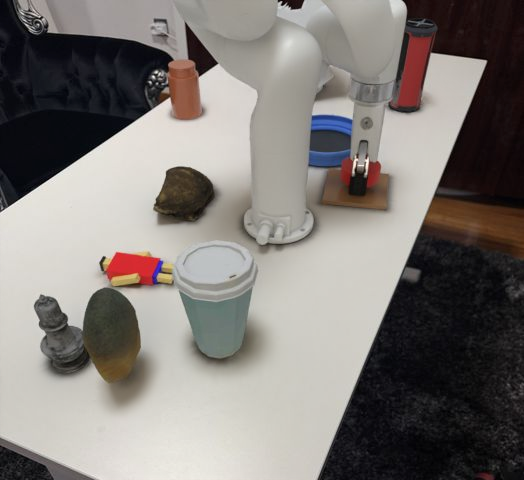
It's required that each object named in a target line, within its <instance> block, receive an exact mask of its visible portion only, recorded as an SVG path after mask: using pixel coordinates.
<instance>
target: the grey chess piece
mask: <svg viewBox="0 0 524 480" xmlns="http://www.w3.org/2000/svg"><path fill="white" fill-rule="evenodd" d="M33 309H34V312H35V314H36V316H37V318H38V320H39V321H38V327H39V328H40V330H41V331H44V336H43V337H42V339H41V341H40V343H39V344H40V345H39V348H40V351H41V353H42V355H44V356H46V357H47V358H49V359H50V365H51V367H52V369H53V370H54V371H56V372H57V373H61V374H70V373H71V374H72V373H74V372H77V371H79V370H81V369H83V368H84V367H85V366H86V365H87V364H88V363H89V361H90V359H91V357H90V355H89V353H88V351H87V350H86V348H85V346H84V343H83V337H82V335H83V329H81V328H80V327H78V326H75V325H69V323H68V322H69V316H68V315H67V313H65V312H63V311H62V308H61V306H60V304H59V302H58V300H57V299H56V298H55V297H52V296H50V295H44V294H42V293H40V295H39V296H38V299H36V300H35V302H34V304H33Z"/></svg>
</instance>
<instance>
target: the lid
mask: <svg viewBox="0 0 524 480" xmlns="http://www.w3.org/2000/svg"><path fill="white" fill-rule="evenodd" d="M358 157H359V156H356V158H358ZM367 157H368V156H366V157H365V159H367ZM353 163H354V160H353V161H352V160H351V159H350V157H348V158H346V159H345V160H343V162H342V164H341V165H340V170H341V173H340V178H341V180H342V182H344V183H345V184H347V185H349V184H350V176H351V174H352V170H353ZM357 165H358V162H356V167H357ZM365 166H366V163H365V165H364V167H365ZM381 171H382V164H381V162H380V161H379V160H377V161H376V162H375V163H373V162H370V159H369V165H368V172H367V175H368V181H367V187H371V186H373V185H375V184H376V183H377V182H378V181H379V177H380V173H381Z"/></svg>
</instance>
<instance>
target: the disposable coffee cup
mask: <svg viewBox="0 0 524 480" xmlns="http://www.w3.org/2000/svg"><path fill="white" fill-rule="evenodd" d="M173 264H174V265H173V268H172V273H171V275H172V278H173V283H174V286H175V288H176V290H178V293H179V296H180V298H181V302H182V305H183V308H184V311H185V314H186V317H187V319H188V322H189V326H190V329H191V331H192V334H193V336H194V337H193V338H194V340H195V343H196V345H197V349H198V350H200V352H201V353H202V354H204V355H205V356H207V357H208V358H213V359H225V358H229V357H231V356H233V355H234V354H235V353H237V352H238V351H240V348H241V347H242V345H243V341H244V337H245V333H246V326H247V321H248V316H249V310H250V305H251V299H252V294H253V289H254V286H255V284H256V281H257V278H258V275H259V269H258V268H259V267H258V264H257V262H256V260H255V259H254V257H253V255H252V253H251V252H250V251H249V249H248V248H247V247H245V246H243V245H240V244H239V243H236V242H233V241H228V240H227V241H226V240H215V239H213V240H209V241H208V240H207V241H204V242H198V243H195V244H193V245H191V246H190V247H189V248H186V249H185V250H184V251H182V252H180V254H178V256H177V257H176V258H175V262H174V263H173Z"/></svg>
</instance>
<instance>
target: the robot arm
mask: <svg viewBox="0 0 524 480" xmlns="http://www.w3.org/2000/svg"><path fill="white" fill-rule="evenodd" d="M172 1H173V4H174V6H175V9H176V11H177V12H178V14H179V15H180V17H181V19H182V20H183V21H184V22H185V24H186V25H187V26H188V28H189V29H190V30H191V31H192V33H193V34H194V35H195V36H196V37H197V39H198V40H199V42H200V43H201V44H202V46H204V48H205V49H206V50H207V51H208V54H210V55H211V56H212V58H213V59H214V60H215V61H216V63H218V65H219V66H220V67H221V68H222V69H223V70H224V71H225V72H226V73H227V74H228V75H230V76H231V77H233V78H235V79H236V80H238V81H239V82H241V83H243V84H245V85H247V86H249V87H250V88H251V89H253V90H254V91H256V94H257V99H256V103H255V106H254V108H253V110H252V112H251V116H250V121H249V152H250V155H249V156H250V185H251V186H250V187H251V188H250V189H251V191H250V192H251V207H249V208H248V209H247V210H246V211H245V213H244V215H243V227H244V229H245V231H246V233H248V234H249V235H250V236H251V237H252V238H254V239H255V240H256V241H255V242H257V244H259V245H261V246H263V245H266V244H274V245H276V244H277V245H279V244H283V245H284V244H290V243H291V244H292V243H294V242H297V241H299V240H302V239H303V238H305V237H306V236H308V235H309V234H310V233H311V231H312V229H313V228H314V216H313V215H314V214H313V213H312V212H311V210H310V209H309V208H308V207H307V193H308V177H309V165H310V164H309V148H310V133H311V120H312V115H313V111H314V105H315V99H316V95H317V94H316V91H317V88H318V84H319V80H320V76H321V71H322V61H324V62H326V63H328V64H330V65H329V66H332V67H335V68H338V69H341V70H343V71H345V72H347V73H349V74H350V75H349V83H348V89H347V90H348V93H347V97H348V99H349V101H351V102H353V111H352V119H353V120H352V131H351V156H350V159H351V160H352V161H353V160H354V163H353V170H352V174H351V176H350V184H349V192H348V194H349V195H358V196H365V194H366V187H367V181H368V175H367V172H368V165H369V159H370V162H373V163H375V162H376V161H378V158H379V151H380V145H381V139H382V133H383V125H384V122H385V121H384V119H385V113H386V104H389V102H390V101H391V100H392V98H393V93H394V87H395V81H396V75H397V69H398V63H399V58H400V52H401V46H402V40H403V34H404V29H405V23H406V22H407V15H408V9H407V5H406V3H405V2H404V1H403V0H321V1H322V2H323V3H324V4H325V6H322V7H321V8H319V9H318V10H316V11H315V12H314V13H313V14H312V16H311V17H310V19H309V20H308V22H307V25H306V28H303V27H302V26H300V25H298V24H296V23H293V22H291V21H288V20H286V19H283V18H281V17H278V16H276V15H277V8H278V3H279V0H172ZM356 156H359V157H358V158H356ZM366 156H368V157H367V159H365V157H366ZM356 162H358V165H357V167H356ZM365 163H366V166H365V167H364V165H365Z"/></svg>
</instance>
